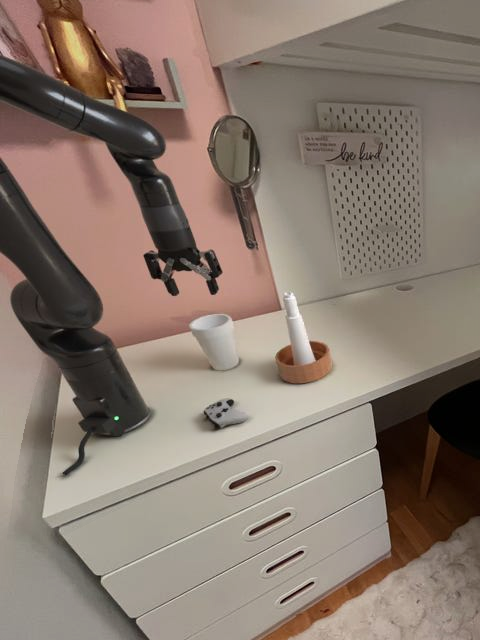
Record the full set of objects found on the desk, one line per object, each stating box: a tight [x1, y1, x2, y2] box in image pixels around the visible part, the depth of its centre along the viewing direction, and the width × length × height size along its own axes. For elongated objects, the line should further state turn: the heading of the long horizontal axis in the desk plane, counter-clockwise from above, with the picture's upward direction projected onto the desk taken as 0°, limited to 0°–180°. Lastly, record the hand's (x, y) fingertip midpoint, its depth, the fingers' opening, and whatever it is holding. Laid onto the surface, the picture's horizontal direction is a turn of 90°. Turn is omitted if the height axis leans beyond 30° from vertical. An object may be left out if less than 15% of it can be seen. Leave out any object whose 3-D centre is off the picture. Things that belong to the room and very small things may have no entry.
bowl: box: [274, 340, 333, 384], centre depth 107 cm, size 13×13×6 cm
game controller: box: [203, 397, 249, 430], centre depth 90 cm, size 10×5×6 cm
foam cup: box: [188, 313, 240, 371], centre depth 106 cm, size 10×9×13 cm
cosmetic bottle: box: [282, 291, 316, 366], centre depth 102 cm, size 6×6×22 cm
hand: (195, 294), depth 95 cm, fingers open, 8 cm apart
